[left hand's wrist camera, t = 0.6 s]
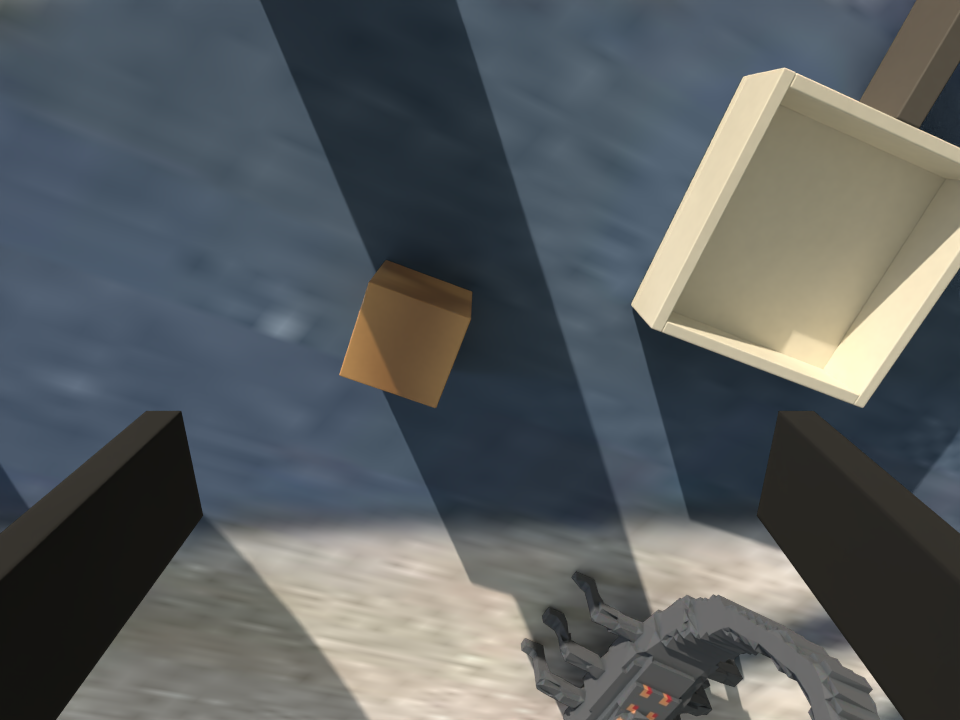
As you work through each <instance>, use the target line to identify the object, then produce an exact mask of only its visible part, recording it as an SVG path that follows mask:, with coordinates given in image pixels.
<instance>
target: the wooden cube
mask: <svg viewBox="0 0 960 720" xmlns="http://www.w3.org/2000/svg"><path fill="white" fill-rule="evenodd" d="M471 308H472V292H471V291H469V290H466V289H463V288H461V287H458V286H455V285H453V284H450V283H447V282H445V281H442V280H439V279H436V278H434V277H431V276H428V275H426V274H423V273H420V272H418V271H415V270H412V269H410V268H407V267H404V266H401V265H399V264H396V263H393V262H391V261H388V260H385V261H384V263H383V264H382V265H381V267H380V268H379V269H378V271H377V272H376V273H375V275H374V276H373V277H372V279H371V280H370V281H369V283H368V286H367V289H366V293H365V296H364V299H363V302H362V305H361V308H360V311H359V315H358V318H357V321H356V324H355V327H354V330H353V333H352V337H351V340H350V343H349V346H348V349H347V352H346V355H345V359H344V362H343V365H342V368H341V371H340V376H343V377H345V378H348V379H351V380H354V381H357V382H360V383H363V384H366V385H369V386H372V387H375V388H378V389H381V390H384V391H387V392H390V393H392V394H395V395H398V396H401V397H404V398H407V399H410V400H413V401H416V402H419V403H422V404H425V405H428V406H431V407H434V408H436V407H437V405H438V402H439V400H440V397H441V395H442V392H443V389H444V387H445V384H446V382H447V379H448V377H449V374H450V372H451V369H452V367H453V364H454V361H455V359H456V356H457V354H458V351H459V349H460V346H461V344H462V341H463V339H464V336H465V333H466V331H467V328H468V326H469V323H470V321H471Z"/></svg>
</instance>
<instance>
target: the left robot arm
mask: <svg viewBox="0 0 960 720" xmlns="http://www.w3.org/2000/svg"><path fill="white" fill-rule="evenodd" d="M202 516H203V513H202V508H201V503H200V498H199V494H198V489H197V484H196V479H195V474H194V470H193V465H192V460H191V455H190V450H189V446H188V441H187V436H186V431H185V427H184V422H183V417H182V412H181V411H146V412H145V413H143V414H142V415H141V416H140V417H139V418H137V419H136V420H135V421H134V422H133V423H131V424H130V425H129V426H128V427H127V428H126V429H124V430H123V431H122V432H121V433H120V434H118V435H117V436H116V437H115V438H114V439H112V440H111V441H110V442H109V443H108V444H106V445H105V446H104V447H103V448H102V449H100V450H99V451H98V452H97V453H96V454H95V455H93V456H92V457H91V458H90V459H89V460H87V461H86V462H85V463H84V464H83V465H81V466H80V467H79V468H78V469H77V470H75V471H74V472H73V473H72V474H71V475H69V476H68V477H67V478H66V479H65V480H64V481H62V482H61V483H60V484H59V485H58V486H56V487H55V488H54V489H53V490H52V491H50V492H49V493H48V494H47V495H46V496H44V497H43V498H42V499H41V500H40V501H38V502H37V503H36V504H35V505H34V506H32V507H31V508H30V509H29V510H28V511H27V512H25V513H24V514H23V515H22V516H21V517H19V518H18V519H17V520H16V521H15V522H13V523H12V524H11V525H10V526H9V527H7V528H6V529H5V530H4V531H3V532H1V533H0V720H56V719H57V718H58V716H59V715H60V713H61V712H62V711H63V709H64V708H65V706H66V705H67V704H68V702H69V701H70V700H71V698H72V697H73V695H74V694H75V693H76V691H77V690H78V688H79V687H80V686H81V684H82V683H83V682H84V680H85V679H86V677H87V676H88V675H89V673H90V672H91V670H92V669H93V668H94V666H95V665H96V663H97V662H98V661H99V659H100V658H101V657H102V655H103V654H104V652H105V651H106V650H107V648H108V647H109V645H110V644H111V643H112V641H113V640H114V638H115V637H116V636H117V634H118V633H119V632H120V630H121V629H122V627H123V626H124V625H125V623H126V622H127V620H128V619H129V618H130V616H131V615H132V614H133V612H134V611H135V609H136V608H137V607H138V605H139V604H140V602H141V601H142V600H143V598H144V597H145V595H146V594H147V593H148V591H149V590H150V589H151V587H152V586H153V584H154V583H155V582H156V580H157V579H158V577H159V576H160V575H161V573H162V572H163V571H164V569H165V568H166V566H167V565H168V564H169V562H170V561H171V559H172V558H173V557H174V555H175V554H176V552H177V551H178V550H179V548H180V547H181V546H182V544H183V543H184V541H185V540H186V539H187V537H188V536H189V534H190V533H191V532H192V530H193V529H194V527H195V526H196V525H197V523H198V522H199V521H200V519H201V518H202ZM757 516H758V518H759V519H760V521H761V522H762V523H763V525H764V526H765V527H766V529H767V530H768V532H769V533H770V534H771V536H772V537H773V539H774V540H775V541H776V543H777V544H778V546H779V547H780V548H781V550H782V551H783V552H784V554H785V555H786V557H787V558H788V559H789V561H790V562H791V564H792V565H793V566H794V568H795V569H796V571H797V572H798V573H799V575H800V576H801V577H802V579H803V580H804V582H805V583H806V584H807V586H808V587H809V589H810V590H811V591H812V593H813V594H814V595H815V597H816V598H817V600H818V601H819V602H820V604H821V605H822V607H823V608H824V609H825V611H826V612H827V614H828V615H829V616H830V618H831V619H832V620H833V622H834V623H835V625H836V626H837V627H838V629H839V630H840V632H841V633H842V634H843V636H844V637H845V639H846V640H847V641H848V643H849V644H850V645H851V647H852V648H853V650H854V651H855V652H856V654H857V655H858V657H859V658H860V659H861V661H862V662H863V663H864V665H865V666H866V668H867V669H868V670H869V672H870V673H871V675H872V676H873V677H874V679H875V680H876V682H877V683H878V684H879V686H880V687H881V688H882V690H883V691H884V693H885V694H886V695H887V697H888V698H889V700H890V701H891V702H892V704H893V705H894V706H895V708H896V709H897V711H898V712H899V713H900V715H901V716H902V718H903V719H904V720H960V533H959V532H957V531H956V530H955V529H954V528H953V527H951V526H950V525H949V524H948V523H947V522H945V521H944V520H943V519H942V518H941V517H939V516H938V515H937V514H936V513H935V512H933V511H932V510H931V509H930V508H929V507H928V506H926V505H925V504H924V503H923V502H922V501H920V500H919V499H918V498H917V497H916V496H914V495H913V494H912V493H911V492H910V491H908V490H907V489H906V488H905V487H904V486H902V485H901V484H900V483H899V482H898V481H896V480H895V479H894V478H893V477H892V476H891V475H889V474H888V473H887V472H886V471H885V470H883V469H882V468H881V467H880V466H879V465H877V464H876V463H875V462H874V461H873V460H871V459H870V458H869V457H868V456H867V455H865V454H864V453H863V452H862V451H861V450H860V449H858V448H857V447H856V446H855V445H854V444H852V443H851V442H850V441H849V440H848V439H846V438H845V437H844V436H843V435H842V434H840V433H839V432H838V431H837V430H836V429H834V428H833V427H832V426H831V425H830V424H829V423H827V422H826V421H825V420H824V419H823V418H821V417H820V416H819V415H818V414H817V413H815V412H814V411H779V412H778V417H777V422H776V427H775V431H774V436H773V441H772V446H771V450H770V455H769V460H768V465H767V470H766V474H765V479H764V484H763V489H762V493H761V498H760V503H759V508H758V513H757Z"/></svg>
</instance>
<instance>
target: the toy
mask: <svg viewBox="0 0 960 720" xmlns="http://www.w3.org/2000/svg"><path fill="white" fill-rule="evenodd" d="M572 579H573V580H574V581H575V582H576V583H577V585H578V586H579V587H580V588H581V589H582V590H583V591H584V592H585V595H586V599H587V603H588V606H589V610H590V616H591V620H592V621H593V622H595V623H598V624H600V625H602V626H605V627H607V628H608V632H611V633H613V634H616V635H618V636H619V637H618V638H617V639H616V640H615V641H614V642H613V644H612V645H611V646H610V647H609V651H608V652H607V653H606V654H605V655H604V656H602V657H601V658H600V657H599V655H598V654H596V653H594V652H592V651H590V650H588V649H586V648H584V647H582V646H580V645H579V644H577V643H575V642H574V641H572V640H571V633H568V625H567V620H566V618H565V616H564V614H563V613H561V612H559V611H557V610H554V609H552V608H550V607H549V608H548V609H547V610H546V612H545V613H544V614H543V616H542V617H543V623H545V624H546V625H548V626H549V627H550V628H552V629H553V630H555V632H556V634H557V636H558V639H559V645H560V650H561V653H562V656H563V658H564V660H565V661H566V662H568V663H570V664H572V665H574V666H577V667H579V668H581V669H583V670H585V671H588V673H587V674H586V675H585V676H584V678H583V681H584V685H583V686H582V687H581V688H578V687H576V686H574V685H573V684H571V683H569V682H568V681H566V680H564V679H563V678H561V677H558V676H556V675H554V674H552V673H550V671H549V668H548V666H547V663H546V660H545V655H544V649H543V645H540V644H538V643H536V642H533V641H531V640H528V639H526V638H525V639H524V640H523V642H522V643H521V650H522V651H523V652H525V653H527V654H528V655H530V656H531V657H532V658H533V665H534V673H535V681H536V687H537V689H538V690H540V691H541V692H543V693H545V694H546V695H548V696H550V697H552V698H554V699H556V700H557V701H559V702H561V703H563V704H565V705H567V706H569V707H568V708H567V709H566V710H565V713H564V717H563V718H564V720H681V718H680V714H681V713H690V714H692V715H695V716H699V715H707V714H708V713H709V712H710V711H711V710H712V708H711V705H710V703H709V700H708V698H707V695H706V693H705V690H704V689H705V688H707V687H709V686H710V684H709V681H708V678H709V679H712V680H714V681H717V682H720V683H723V684H726V685H729V686H733V687H735V686H736V685H737V684H738V683H739V682H740V681H741V680H742V679H743V678H742V676H741V674H740V672H739V670H738V668H737V666H736V664H735V662H734V658H736V657H737V656H738V655H740V654H745V653H748V654H750V655H751V654H754V655H757V654H758V653H761V654H763V655H765V656H767V657H769V658H771V659H772V660H773V662H774V664H775V666H776V667H777V669H778V671H781V672H783V673H785V674H786V675H787V676H788V677H789V678H791V679H793V680H796V681H797V682H798V684H799V686H800V687H801V689H802V691H803V693H804V695H805V696H806V698H807V700H808V702H809V703H810V705H811V708H810V710H809V712H808V713H809V715H810V717H811V719H812V720H880V718H879V716H878V714H877V709H876V704H875V702H874V701H873V699H872V698H871V697H870V695H869V693H870V692H871V691H872V690H873V689H872V688H871V686H870V685H869V683H868V682H867V681H866V679H865V678H864V677H862V676H859V675H857V674H855V673H854V672H853V671H852V670H849V669H847V668H845V667H843V666H842V665H841V663H840V662H839V661H838V659H836V658H833V657H830V656H829V655H828V654H827V653H826V651H825V650H824V648H822V647H820V646H818V645H816V644H814V643H812V642H810V641H808V640H805V638H804V637H803V636H801V635H799V634H796V633H795V632H794V631H792V630H790V629H788V628H786V627H785V626H783V625H781V624H779V623H777V622H775V621H772V620H770V619H768V618H766V617H764V616H762V615H760V614H758V613H755V612H753V611H751V610H749V609H747V608H745V607H743V606H741V605H739V604H736V603H734V602H732V601H730V600H728V599H726V598H724V597H722V596H720V595H717V596H715V595H712V596H711V597H710V599H707V598H704V599H703V598H701V597H700V598H698V599H695V598H692V597H690V596H688V595H686V596H685V597H683V598H682V599H681V598H679V599H678V600H677V601H676V602H675V603H673V604H672V605H671V606H670V607H668V608H667V609H666V610H664V611H661V610H658V611H656V612H655V613H654V614H653V615H652V616H650V617H649V618H648V619H647V620H645V621H644V622H640V621H638V620H635V619H633V618H630V617H628V616H625V615H624V614H623V613H621V612H620V611H618V610H616V609H614V608H612V607H610V606H608V605H606V604H604V602H603V601H602V599H601V597H600V595H599V593H598V590H597V586H596V583H595V580H594V579H592V578H590V577H587V576H585V575H583V574H581V573H579V572H576V573H575V574H574V575H573V576H572Z"/></svg>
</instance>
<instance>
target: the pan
mask: <svg viewBox="0 0 960 720" xmlns="http://www.w3.org/2000/svg"><path fill="white" fill-rule="evenodd" d="M959 62H960V0H916V2H915V4H914V6H913V8H912V9H911V11H910V13H909V15H908V16H907V18H906V20H905V22H904V23H903V25H902V27H901V29H900V30H899V32H898V34H897V36H896V38H895V39H894V41H893V43H892V45H891V46H890V48H889V50H888V52H887V53H886V55H885V57H884V59H883V61H882V62H881V64H880V66H879V68H878V69H877V71H876V73H875V75H874V76H873V78H872V80H871V82H870V83H869V85H868V87H867V89H866V91H865V92H864V94H863V96H862V98H861V99H860V101H859V102H858V101H856V100H854V99H852V98H850V97H848V96H845V95H843V94H841V93H839V92H837V91H834V90H832V89H830V88H828V87H826V86H824V85H821V84H819V83H817V82H815V81H813V80H810V79H808V78H806V77H804V76H802V75H800V74H796V73H795V72H793V71H791V70H789V69H787V68H781V69H777V70H772V71H767V72H762V73H758V74H753V75H749V76H744V77H743V79H742V81H741V83H740V85H739V87H738V89H737V91H736V93H735V95H734V97H733V99H732V101H731V103H730V105H729V107H728V109H727V111H726V113H725V115H724V117H723V119H722V121H721V123H720V125H719V127H718V129H717V131H716V133H715V135H714V137H713V139H712V141H711V143H710V145H709V148H708V150H707V152H706V154H705V156H704V158H703V160H702V162H701V164H700V166H699V168H698V170H697V172H696V174H695V176H694V178H693V180H692V182H691V184H690V186H689V188H688V190H687V192H686V194H685V196H684V198H683V200H682V202H681V204H680V206H679V208H678V210H677V212H676V214H675V217H674V219H673V221H672V223H671V225H670V227H669V229H668V231H667V233H666V235H665V237H664V239H663V241H662V243H661V245H660V247H659V249H658V251H657V253H656V255H655V257H654V259H653V261H652V263H651V265H650V267H649V269H648V271H647V273H646V275H645V277H644V279H643V281H642V283H641V285H640V288H639V290H638V292H637V294H636V296H635V298H634V300H633V302H632V304H631V305H632V307H633V308H634V309H635V310H636V311H637V312H638V314H639V315H640V316H641V317H642V318H643V319H644V320H645V322H646V323H647V324H648V325H649V326H650V327H651V328H652V329H655V330H657V331H660V332H661V331H662V332H663V333H665V334H668V335H671V336H673V337H676V338H678V339H681V340H684V341H686V342H689V343H692V344H694V345H697V346H700V347H702V348H705V349H708V350H710V351H713V352H715V353H718V354H721V355H723V356H726V357H729V358H731V359H734V360H737V361H739V362H742V363H745V364H747V365H750V366H752V367H755V368H758V369H760V370H763V371H766V372H768V373H771V374H774V375H776V376H779V377H782V378H784V379H787V380H789V381H792V382H795V383H797V384H800V385H803V386H805V387H808V388H811V389H813V390H816V391H818V392H821V393H824V394H826V395H829V396H832V397H834V398H837V399H840V400H842V401H845V402H848V403H850V404H853V405H856V406H858V407H861V408H864V406H865V405H866V403H867V402H868V400H869V399H870V398H871V396H872V395H873V393H874V392H875V390H876V389H877V387H878V386H879V384H880V383H881V382H882V380H883V379H884V377H885V376H886V374H887V373H888V371H889V370H890V369H891V367H892V366H893V364H894V363H895V361H896V360H897V358H898V357H899V355H900V354H901V353H902V351H903V350H904V348H905V347H906V345H907V344H908V342H909V341H910V340H911V338H912V337H913V335H914V334H915V332H916V331H917V329H918V328H919V326H920V325H921V324H922V322H923V321H924V319H925V318H926V316H927V315H928V313H929V312H930V311H931V309H932V308H933V306H934V305H935V303H936V302H937V300H938V299H939V297H940V296H941V295H942V293H943V292H944V290H945V289H946V287H947V286H948V284H949V283H950V282H951V280H952V279H953V277H954V276H955V274H956V273H957V271H958V270H959V268H960V148H959V147H957V146H954V145H952V144H950V143H948V142H946V141H944V140H941V139H939V138H937V137H935V136H933V135H930V134H928V133H926V132H924V131H922V130H920V129H917V128H919V127H920V126H921V124H922V123H923V121H924V119H925V118H926V116H927V115H928V113H929V111H930V110H931V108H932V106H933V105H934V103H935V101H936V100H937V98H938V96H939V95H940V93H941V92H942V90H943V88H944V87H945V85H946V83H947V82H948V80H949V78H950V77H951V75H952V74H953V72H954V70H955V69H956V67H957V65H958V64H959Z"/></svg>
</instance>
